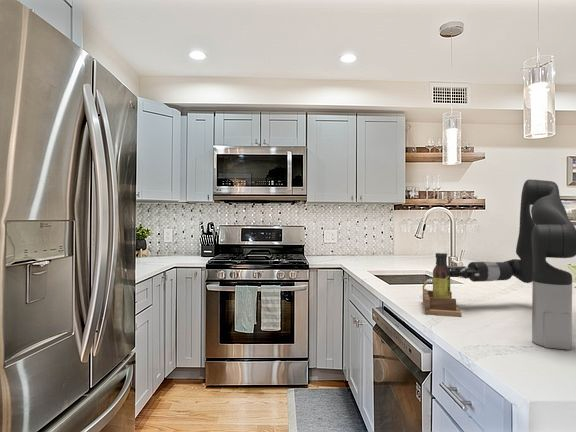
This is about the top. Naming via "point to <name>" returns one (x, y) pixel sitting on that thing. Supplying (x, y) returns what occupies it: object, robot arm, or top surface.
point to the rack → (440, 305)
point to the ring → (427, 282)
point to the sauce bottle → (441, 277)
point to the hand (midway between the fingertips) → (443, 272)
